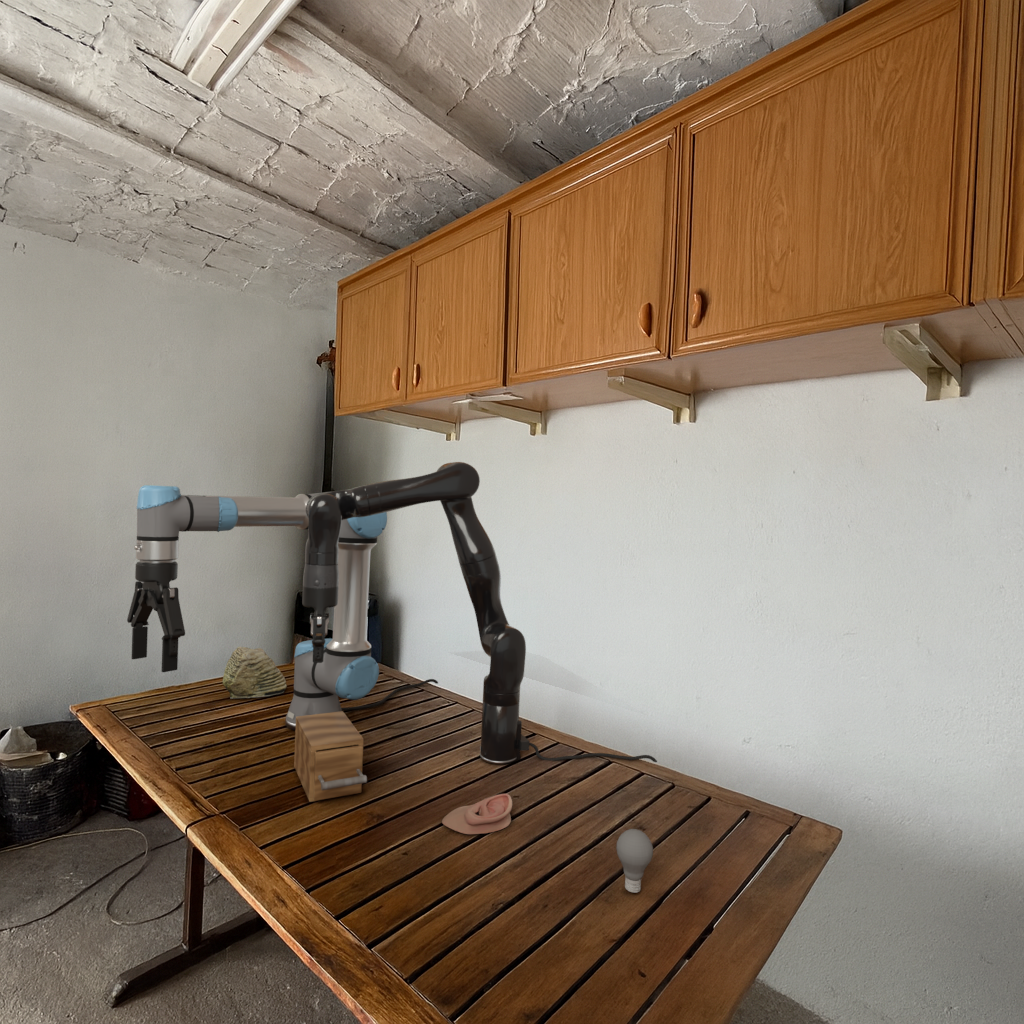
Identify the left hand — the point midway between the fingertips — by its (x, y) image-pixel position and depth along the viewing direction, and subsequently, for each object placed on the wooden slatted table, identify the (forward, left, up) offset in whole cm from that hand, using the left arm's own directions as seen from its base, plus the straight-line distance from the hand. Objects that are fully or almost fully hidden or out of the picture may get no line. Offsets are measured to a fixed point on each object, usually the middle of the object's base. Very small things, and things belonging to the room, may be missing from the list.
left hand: (153, 664), depth 130 cm
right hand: (-27, +18, 0) cm, 32 cm away
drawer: (-28, +23, -27) cm, 45 cm away
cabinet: (-30, +18, -28) cm, 45 cm away
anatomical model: (-39, +55, -28) cm, 73 cm away
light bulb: (-40, +89, -28) cm, 102 cm away
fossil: (-49, -47, -28) cm, 73 cm away
